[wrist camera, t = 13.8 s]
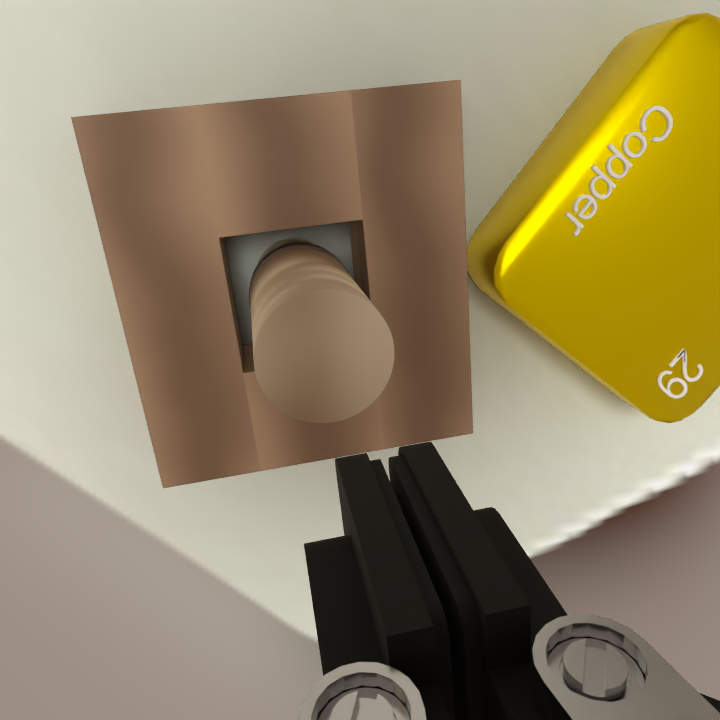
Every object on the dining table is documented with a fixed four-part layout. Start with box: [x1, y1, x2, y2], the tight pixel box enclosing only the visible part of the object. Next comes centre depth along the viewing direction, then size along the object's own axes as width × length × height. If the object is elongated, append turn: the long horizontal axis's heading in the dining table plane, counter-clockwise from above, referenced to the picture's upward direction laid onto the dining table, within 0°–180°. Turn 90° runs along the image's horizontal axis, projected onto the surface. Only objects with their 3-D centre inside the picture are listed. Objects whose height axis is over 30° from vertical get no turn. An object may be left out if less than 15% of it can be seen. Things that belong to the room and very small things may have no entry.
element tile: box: [467, 13, 720, 423], centre depth 31 cm, size 15×15×5 cm
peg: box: [249, 238, 394, 423], centre depth 25 cm, size 4×4×12 cm
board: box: [71, 80, 473, 488], centre depth 28 cm, size 15×16×4 cm
